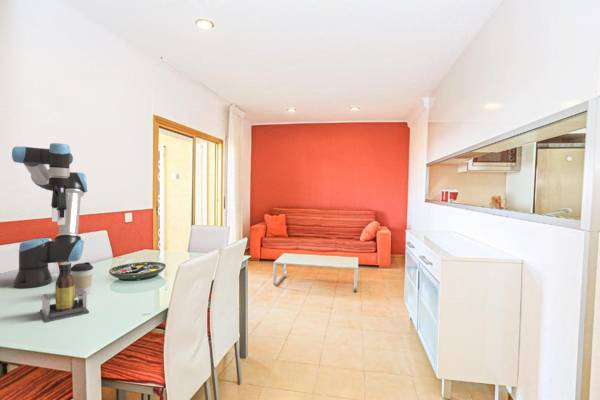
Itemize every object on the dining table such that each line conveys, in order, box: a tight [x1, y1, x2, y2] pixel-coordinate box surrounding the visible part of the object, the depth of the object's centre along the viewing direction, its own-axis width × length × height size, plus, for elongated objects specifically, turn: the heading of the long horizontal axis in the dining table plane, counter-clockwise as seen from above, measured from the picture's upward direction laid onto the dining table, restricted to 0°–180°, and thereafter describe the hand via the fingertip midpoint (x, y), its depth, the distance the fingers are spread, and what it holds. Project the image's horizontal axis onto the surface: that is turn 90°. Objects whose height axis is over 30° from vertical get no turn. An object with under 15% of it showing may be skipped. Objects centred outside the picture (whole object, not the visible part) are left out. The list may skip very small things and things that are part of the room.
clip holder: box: [39, 288, 90, 323], centre depth 129 cm, size 14×14×8 cm
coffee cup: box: [71, 262, 94, 298], centre depth 150 cm, size 9×9×15 cm
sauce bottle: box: [55, 262, 75, 312], centre depth 129 cm, size 6×6×20 cm
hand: (58, 223), depth 145 cm, fingers open, 13 cm apart
